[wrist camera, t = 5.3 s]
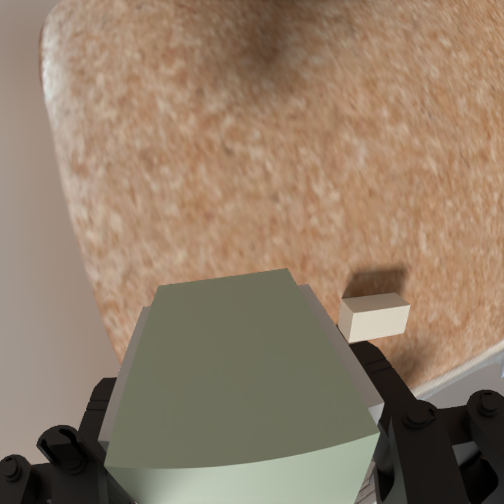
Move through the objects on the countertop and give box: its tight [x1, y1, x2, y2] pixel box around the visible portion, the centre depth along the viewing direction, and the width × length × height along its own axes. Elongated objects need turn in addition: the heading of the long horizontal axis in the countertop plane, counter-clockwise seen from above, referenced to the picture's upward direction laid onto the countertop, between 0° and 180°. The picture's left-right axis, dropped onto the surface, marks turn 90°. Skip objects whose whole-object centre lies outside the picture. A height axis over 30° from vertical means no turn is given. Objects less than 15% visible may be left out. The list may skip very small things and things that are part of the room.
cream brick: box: [338, 292, 410, 343], centre depth 27 cm, size 6×3×3 cm, turn 91°
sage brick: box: [104, 268, 380, 504], centre depth 9 cm, size 4×5×8 cm
